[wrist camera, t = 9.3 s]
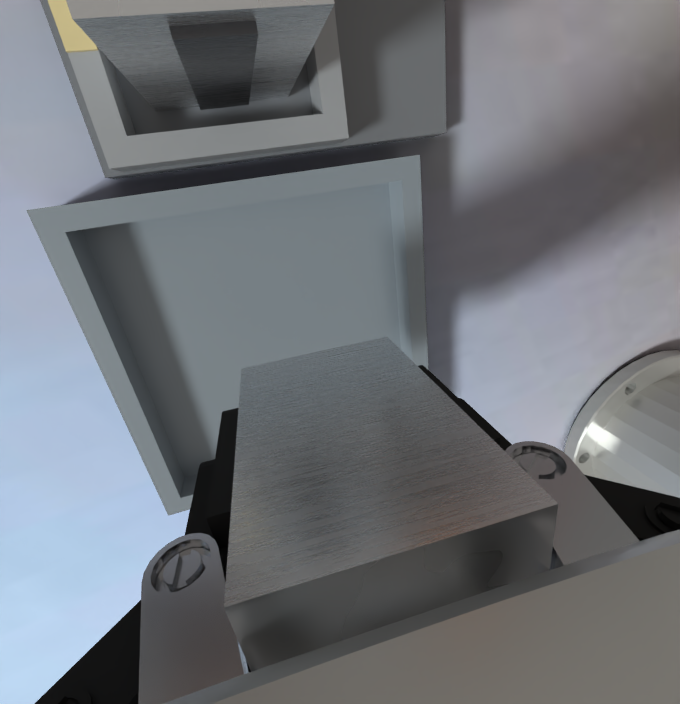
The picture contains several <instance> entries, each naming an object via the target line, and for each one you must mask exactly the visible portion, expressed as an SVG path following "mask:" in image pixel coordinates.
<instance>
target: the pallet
mask: <svg viewBox="0 0 680 704" xmlns="http://www.w3.org/2000/svg"><path fill="white" fill-rule="evenodd" d="M40 1H41V4H42V7H43V9H44V12H45V15H46V17H47V20H48V23H49V26H50V28H51V31H52V34H53V36H54V39H55V42H56V45H57V47H58V50H59V53H60V56H61V58H62V61H63V64H64V66H65V69H66V72H67V75H68V77H69V80H70V83H71V85H72V88H73V91H74V94H75V96H76V99H77V102H78V105H79V107H80V110H81V113H82V115H83V118H84V121H85V124H86V126H87V129H88V132H89V134H90V137H91V140H92V143H93V145H94V148H95V151H96V154H97V156H98V159H99V162H100V164H101V167H102V170H103V173H104V175H105V178H111V179H118V178H125V177H133V176H140V175H148V174H155V173H163V172H170V171H178V170H186V169H193V168H201V167H208V166H216V165H223V164H231V163H238V162H246V161H253V160H261V159H268V158H276V157H283V156H291V155H298V154H306V153H313V152H321V151H328V150H336V149H343V148H351V147H358V146H366V145H373V144H381V143H388V142H396V141H403V140H411V139H418V138H426V137H434V136H437V135H440V134H444V133H446V59H445V0H334V3H335V4H334V6H333V8H332V10H331V12H330V14H329V16H328V18H327V20H326V22H325V24H324V26H323V28H322V30H321V32H320V34H319V36H318V38H317V40H316V42H315V44H314V46H313V48H312V50H311V52H310V54H309V56H308V58H307V60H306V62H305V64H304V66H303V68H302V70H301V72H300V74H299V76H298V78H297V80H296V82H295V84H294V86H293V88H292V90H291V92H290V94H289V96H288V97H285V98H276V99H266V100H257V101H249V105H243V106H234V107H225V108H215V109H206V110H201V109H200V107H189V108H180V109H170V110H160V111H156V110H155V109H154V108H153V107H152V106H151V105H150V104H149V103H148V102H147V100H146V99H145V98H144V97H143V96H142V95H141V94H140V93H139V92H138V91H137V89H136V88H135V87H134V86H133V85H132V84H131V83H130V82H129V81H128V80H127V78H126V77H125V76H124V75H123V74H122V73H121V72H120V71H119V70H118V69H117V68H116V66H115V65H114V64H113V63H112V62H111V61H110V60H109V59H108V58H107V57H106V55H105V54H104V53H103V52H102V51H101V50H100V49H99V48H98V47H97V46H96V44H95V43H94V42H93V41H92V40H91V39H90V38H89V37H88V36H87V35H86V33H85V32H84V31H83V30H82V29H81V28H80V27H79V26H78V25H77V24H76V22H75V21H74V20H73V19H72V16H71V14H70V11H69V8H68V5H67V2H66V0H40Z"/></svg>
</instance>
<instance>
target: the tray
mask: <svg viewBox="0 0 680 704" xmlns="http://www.w3.org/2000/svg"><path fill="white" fill-rule="evenodd" d="M27 213H28V215H29V217H30V219H31V221H32V223H33V225H34V228H35V230H36V232H37V234H38V236H39V238H40V241H41V243H42V245H43V247H44V249H45V251H46V253H47V256H48V258H49V260H50V262H51V264H52V266H53V268H54V271H55V273H56V275H57V277H58V279H59V281H60V284H61V286H62V288H63V290H64V292H65V294H66V296H67V299H68V301H69V303H70V305H71V307H72V309H73V311H74V314H75V316H76V318H77V320H78V322H79V324H80V327H81V329H82V331H83V333H84V335H85V337H86V339H87V342H88V344H89V346H90V348H91V350H92V352H93V354H94V357H95V359H96V361H97V363H98V365H99V367H100V370H101V372H102V374H103V376H104V378H105V380H106V382H107V385H108V387H109V389H110V391H111V393H112V395H113V398H114V400H115V402H116V404H117V406H118V408H119V410H120V413H121V415H122V417H123V419H124V421H125V423H126V425H127V428H128V430H129V432H130V434H131V436H132V438H133V441H134V443H135V445H136V447H137V449H138V451H139V453H140V456H141V458H142V460H143V462H144V464H145V466H146V468H147V471H148V473H149V475H150V477H151V479H152V481H153V484H154V486H155V488H156V490H157V492H158V494H159V496H160V499H161V501H162V503H163V505H164V507H165V509H166V511H167V514H168V516H169V515H172V514H175V513H179V512H182V511H186V510H189V509H190V508H191V503H192V498H193V493H194V489H195V484H196V479H197V474H198V469H199V466H200V464H201V463H202V462H206V461H210V460H214V459H215V455H216V449H217V442H218V435H219V429H220V422H221V415H222V412H223V411H226V410H231V409H235V408H239V395H240V381H241V368H245V367H249V366H254V365H258V364H263V363H268V362H272V361H277V360H281V359H286V358H290V357H295V356H300V355H304V354H309V353H313V352H318V351H323V350H327V349H332V348H336V347H341V346H346V345H350V344H355V343H359V342H364V341H368V340H373V339H378V338H382V337H388V338H389V339H390V340H391V341H392V342H393V343H395V344H396V345H397V346H398V347H399V348H400V349H401V350H402V351H403V352H404V353H405V354H406V355H407V356H408V357H409V358H410V359H411V360H412V361H413V362H414V363H415V364H416V365H417V366H419V365H423V366H425V367H426V368H427V369H428V347H427V321H426V296H425V271H424V245H423V220H422V194H421V169H420V155H414V156H407V157H399V158H392V159H385V160H378V161H371V162H364V163H357V164H350V165H343V166H336V167H329V168H322V169H315V170H308V171H301V172H294V173H287V174H279V175H272V176H265V177H258V178H251V179H244V180H237V181H230V182H223V183H216V184H209V185H202V186H195V187H188V188H181V189H174V190H167V191H160V192H152V193H145V194H138V195H131V196H124V197H117V198H110V199H103V200H96V201H89V202H82V203H75V204H68V205H61V206H54V207H47V208H40V209H32V210H27Z"/></svg>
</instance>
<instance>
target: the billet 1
mask: <svg viewBox="0 0 680 704" xmlns="http://www.w3.org/2000/svg"><path fill="white" fill-rule="evenodd" d="M66 2H67V5H68V8H69V11H70V14H71V16H72V19H73V20H74V21H75V22H76V24H77V25H78V26H79V27H80V28H81V29H82V30H83V31H84V32H85V33H86V35H87V36H88V37H89V38H90V39H91V40H92V41H93V42H94V43H95V44H96V46H97V47H98V48H99V49H100V50H101V51H102V52H103V53H104V54H105V55H106V57H107V58H108V59H109V60H110V61H111V62H112V63H113V64H114V65H115V66H116V68H117V69H118V70H119V71H120V72H121V73H122V74H123V75H124V76H125V77H126V78H127V80H128V81H129V82H130V83H131V84H132V85H133V86H134V87H135V88H136V89H137V91H138V92H139V93H140V94H141V95H142V96H143V97H144V98H145V99H146V100H147V102H148V103H149V104H150V105H151V106H152V107H153V108H154V109H155V110H156V111H160V110H170V109H180V108H189V107H200V109H201V110H206V109H215V108H225V107H234V106H243V105H249V101H257V100H266V99H276V98H285V97H288V96H289V94H290V92H291V90H292V88H293V86H294V84H295V82H296V80H297V78H298V76H299V74H300V72H301V70H302V68H303V66H304V64H305V62H306V60H307V58H308V56H309V54H310V52H311V50H312V48H313V46H314V44H315V42H316V40H317V38H318V36H319V34H320V32H321V30H322V28H323V26H324V24H325V22H326V20H327V18H328V16H329V14H330V12H331V10H332V8H333V6H334V4H335V3H334V0H66Z"/></svg>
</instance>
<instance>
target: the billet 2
mask: <svg viewBox="0 0 680 704" xmlns="http://www.w3.org/2000/svg"><path fill="white" fill-rule="evenodd" d="M557 511H558V503H557V502H556V501H555V500H554V499H553V498H552V497H551V496H550V495H549V494H548V493H547V492H546V491H545V490H544V489H543V488H542V487H541V486H540V485H539V484H538V483H537V482H536V481H535V480H534V479H533V478H532V477H531V476H530V475H528V474H527V473H526V472H525V471H524V470H523V469H522V468H521V467H520V466H519V465H518V464H517V463H516V462H515V461H514V460H513V459H512V458H511V457H510V456H509V455H508V454H507V453H506V452H505V451H504V450H503V449H502V448H501V447H500V446H499V445H498V444H497V443H496V442H495V441H494V440H493V439H492V438H491V437H490V436H489V435H488V434H487V433H486V432H485V431H483V430H482V429H481V428H480V427H479V426H478V425H477V424H476V423H475V422H474V421H473V420H472V419H471V418H470V417H469V416H468V415H467V414H466V413H465V412H464V411H463V410H462V409H461V408H460V407H459V406H458V405H457V404H456V403H455V402H454V401H453V400H452V399H451V398H450V397H449V396H448V395H447V394H446V393H445V392H444V391H443V390H442V389H441V388H440V387H438V386H437V385H436V384H435V383H434V382H433V381H432V380H431V379H430V378H429V377H428V376H427V375H426V374H425V373H424V372H423V371H422V370H421V369H420V368H419V367H418V366H417V365H416V364H415V363H414V362H413V361H412V360H411V359H410V358H409V357H408V356H407V355H406V354H405V353H404V352H403V351H402V350H401V349H400V348H399V347H398V346H397V345H396V344H395V343H393V342H392V341H391V340H390V339H389V338H388V337H382V338H378V339H373V340H368V341H364V342H359V343H355V344H350V345H346V346H341V347H336V348H332V349H327V350H323V351H318V352H313V353H309V354H304V355H300V356H295V357H290V358H286V359H281V360H277V361H272V362H268V363H263V364H258V365H254V366H249V367H245V368H241V381H240V395H239V408H238V422H237V435H236V449H235V463H234V476H233V490H232V503H231V517H230V530H229V544H228V557H227V571H226V585H225V598H224V609H225V611H226V614H227V616H228V619H229V621H230V623H231V626H232V628H233V630H234V633H235V635H236V637H237V640H238V642H239V644H240V647H241V649H242V651H243V654H244V656H245V658H246V661H247V663H248V665H249V668H250V670H251V672H252V671H255V670H258V669H261V668H264V667H267V666H270V665H273V664H276V663H279V662H281V661H284V660H287V659H290V658H293V657H296V656H299V655H302V654H305V653H307V652H310V651H313V650H316V649H319V648H322V647H325V646H328V645H331V644H333V643H336V642H339V641H342V640H345V639H348V638H351V637H354V636H357V635H360V634H362V633H365V632H368V631H371V630H374V629H377V628H380V627H383V626H386V625H389V624H392V623H395V622H398V621H401V620H404V619H407V618H409V617H412V616H415V615H418V614H421V613H424V612H427V611H430V610H433V609H436V608H439V607H442V606H445V605H448V604H451V603H454V602H457V601H460V600H463V599H466V598H468V597H471V596H474V595H477V594H480V593H483V592H486V591H489V590H492V589H495V588H498V587H501V586H504V585H507V584H510V583H513V582H516V581H519V580H522V579H525V578H528V577H531V576H534V575H537V574H540V573H543V572H546V571H549V570H550V563H551V556H552V548H553V541H554V533H555V526H556V518H557Z"/></svg>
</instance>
